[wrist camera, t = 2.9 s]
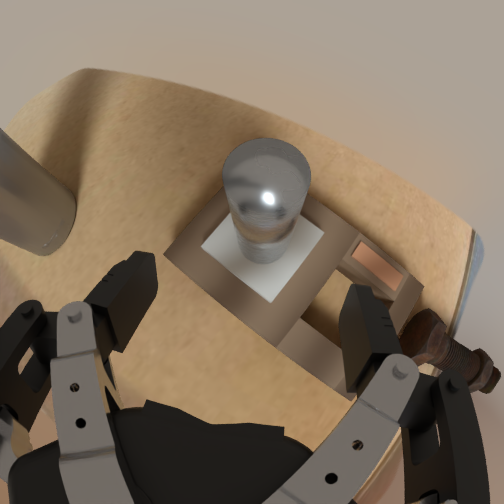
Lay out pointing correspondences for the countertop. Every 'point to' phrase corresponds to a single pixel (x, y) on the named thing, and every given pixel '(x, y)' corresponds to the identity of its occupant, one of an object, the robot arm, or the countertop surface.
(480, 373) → the bolt
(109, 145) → the countertop surface
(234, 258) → the recessed board
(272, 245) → the peg
